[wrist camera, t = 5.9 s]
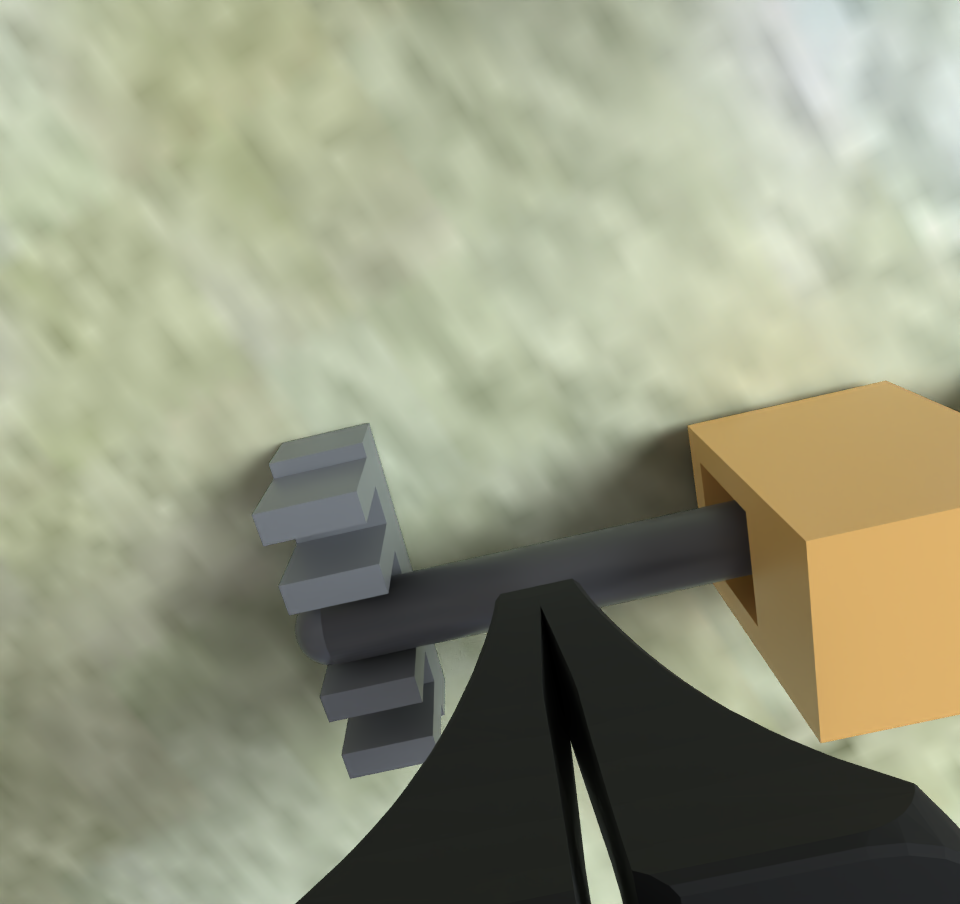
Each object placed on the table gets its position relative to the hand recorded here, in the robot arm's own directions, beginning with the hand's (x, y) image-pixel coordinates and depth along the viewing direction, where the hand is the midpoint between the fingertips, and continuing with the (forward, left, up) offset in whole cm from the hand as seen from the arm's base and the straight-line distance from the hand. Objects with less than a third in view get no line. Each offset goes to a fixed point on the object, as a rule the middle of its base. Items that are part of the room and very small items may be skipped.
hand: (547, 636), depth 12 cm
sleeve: (+6, 0, -4) cm, 7 cm away
